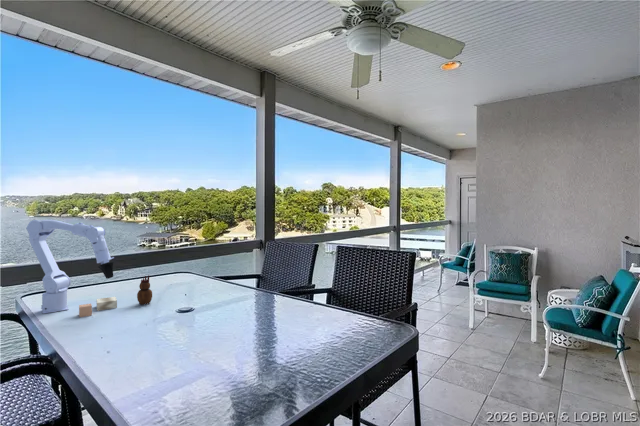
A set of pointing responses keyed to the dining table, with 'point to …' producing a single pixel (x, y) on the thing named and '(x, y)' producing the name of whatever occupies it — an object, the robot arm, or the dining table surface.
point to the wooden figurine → (144, 292)
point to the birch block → (106, 303)
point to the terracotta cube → (85, 310)
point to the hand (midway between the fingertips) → (109, 277)
